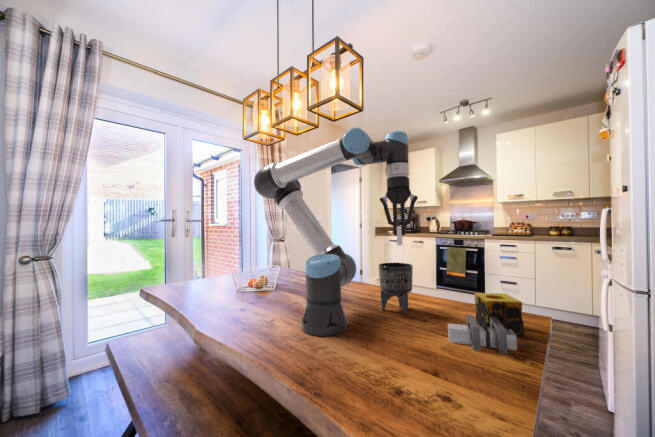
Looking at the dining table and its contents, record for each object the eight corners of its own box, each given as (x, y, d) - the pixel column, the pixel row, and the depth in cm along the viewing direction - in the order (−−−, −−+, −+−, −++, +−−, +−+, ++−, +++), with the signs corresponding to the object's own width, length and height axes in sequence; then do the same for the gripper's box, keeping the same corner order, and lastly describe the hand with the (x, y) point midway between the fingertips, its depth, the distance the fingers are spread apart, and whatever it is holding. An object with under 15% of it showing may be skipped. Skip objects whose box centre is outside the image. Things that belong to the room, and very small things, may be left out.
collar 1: (473, 350, 68) (472, 326, 68) (467, 334, 78) (466, 314, 78) (480, 350, 68) (479, 327, 68) (473, 335, 77) (472, 315, 77)
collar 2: (500, 353, 66) (499, 329, 66) (490, 337, 75) (489, 316, 76) (507, 354, 65) (506, 330, 66) (497, 338, 75) (496, 317, 75)
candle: (525, 336, 76) (523, 302, 76) (487, 334, 78) (485, 300, 78) (508, 323, 86) (507, 293, 86) (475, 322, 88) (473, 292, 88)
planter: (387, 303, 110) (386, 261, 111) (418, 308, 103) (417, 263, 103) (374, 312, 100) (373, 265, 100) (407, 318, 92) (405, 268, 93)
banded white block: (449, 342, 73) (449, 328, 73) (448, 337, 77) (447, 323, 77) (517, 351, 67) (516, 335, 68) (512, 344, 71) (511, 329, 71)
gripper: (377, 177, 89) (379, 245, 88) (417, 173, 85) (419, 245, 84) (380, 180, 96) (382, 244, 96) (417, 177, 92) (420, 244, 91)
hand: (399, 244), depth 90 cm, fingers closed
